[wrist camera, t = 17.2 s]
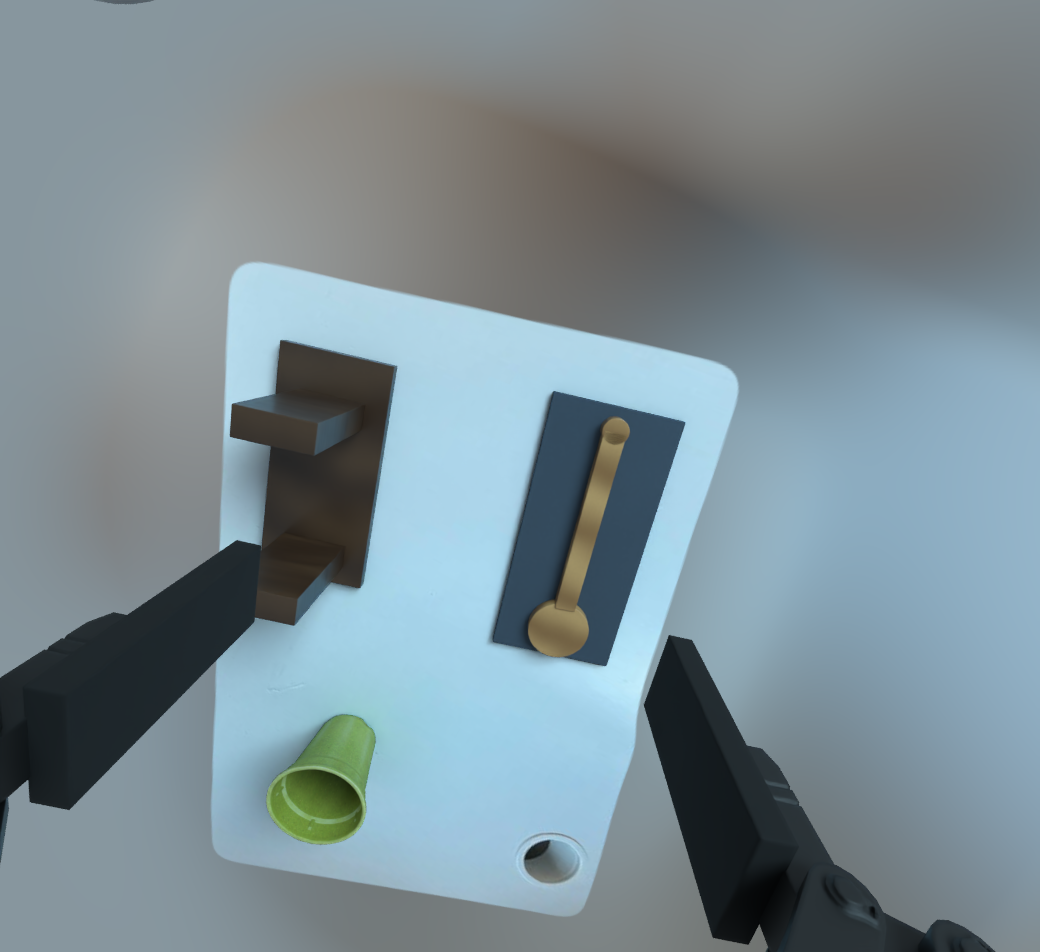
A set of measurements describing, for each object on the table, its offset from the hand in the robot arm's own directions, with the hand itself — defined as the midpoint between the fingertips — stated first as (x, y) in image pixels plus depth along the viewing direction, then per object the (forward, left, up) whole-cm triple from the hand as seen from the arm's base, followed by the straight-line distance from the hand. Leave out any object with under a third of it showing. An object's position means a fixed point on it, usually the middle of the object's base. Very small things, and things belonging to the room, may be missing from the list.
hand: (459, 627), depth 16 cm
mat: (+8, +9, -31) cm, 33 cm away
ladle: (+8, +9, -30) cm, 32 cm away
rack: (+7, -16, -31) cm, 35 cm away
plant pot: (+37, -10, -31) cm, 49 cm away
